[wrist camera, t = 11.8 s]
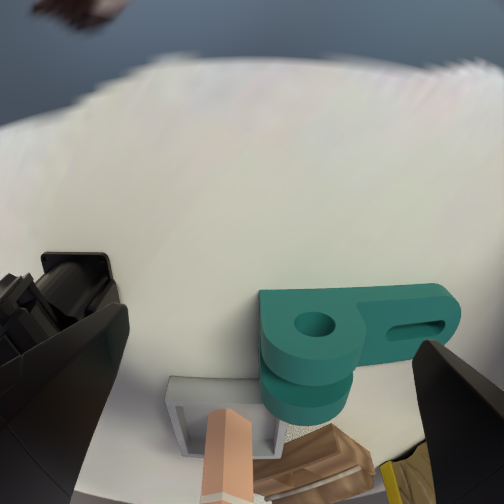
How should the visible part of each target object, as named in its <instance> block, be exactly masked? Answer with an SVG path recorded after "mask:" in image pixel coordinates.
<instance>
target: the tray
mask: <svg viewBox="0 0 504 504" xmlns="http://www.w3.org/2000/svg"><path fill="white" fill-rule="evenodd" d="M165 403H166V406H167V410H168V413H169V416H170V420H171V423H172V426H173V429H174V433H175V436H176V439H177V442H178V445H179V448H180V451H181V454H182V456H186V457H198V458H204V456H205V444H206V433H207V422H208V413H211V412H213V411H215V410H218V409H232V410H233V411H235V412H236V413H238V414H239V415H241V416H242V417H244V418H245V419H247V420H248V421H250V422H251V423H252V458H253V459H279V458H281V455H282V451H283V446H284V441H285V436H286V431H287V426H288V423H286V422H283V421H281V420H279V419H278V418H276V417H275V416H273V415H272V414H271V413H270V412H269V411H268V410H267V409H266V407H265V406H264V404H263V402H262V399H261V393H260V379H219V378H195V377H178V376H170V379H169V383H168V388H167V392H166V396H165Z"/></svg>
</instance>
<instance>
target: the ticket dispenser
mask: <svg viewBox="0 0 504 504" xmlns="http://www.w3.org/2000/svg"><path fill="white" fill-rule="evenodd" d="M375 474H376V473H375V469H374V466H373V462H372V459H371V455H370V452H369V451H368V450H366V449H365V448H363V447H362V446H361V445H359V444H358V443H357V442H355V441H354V440H353V439H351V438H350V437H349V436H347V435H346V434H345V433H344V432H342V431H341V430H340V429H338V428H337V427H336V426H334V425H333V424H332V423H331V424H329V425H327V426H325V427H323V428H320V429H318V430H316V431H314V432H312V433H309V434H307V435H305V436H302V437H300V438H298V439H295V440H293V441H290V442H288V443H285V444H284V446H283V451H282V455H281V458H279V459H253V492H254V493H256V494H259V495H262V496H265V498H264V500H265V501H266V502H267V501H271V500H272V504H332V503H335V502H338V501H341V500H344V499H347V498H350V497H352V496H355V495H358V494H360V493H363V492H365V491H368V490H370V489H372V488H373V487H374V479H373V475H375Z"/></svg>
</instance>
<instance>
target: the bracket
mask: <svg viewBox="0 0 504 504" xmlns="http://www.w3.org/2000/svg"><path fill="white" fill-rule="evenodd" d="M460 318H461V308H460V305H459V303H458V302H457V300H456V299H455V298H454V297H453V296H452V295H451V294H450V293H449V292H448V291H447V290H446V289H445V288H444V287H443V286H441V285H439V284H434V283H429V284H413V285H395V286H375V287H352V288H325V289H287V290H259V374H260V393H261V399H262V402H263V404H264V406H265V407H266V409H267V410H268V411H269V412H270V413H271V414H272V415H273V416H275V417H276V418H278V419H279V420H281V421H283V422H286V423H289V424H292V425H298V426H313V425H319V424H322V423H325V422H327V421H329V420H331V419H333V418H334V417H336V416H337V415H338V414H339V413H340V412H341V411H342V409H343V408H344V406H345V403H346V401H347V398H348V394H349V391H350V388H351V385H352V382H353V371H354V370H355V368H356V367H358V366H367V365H375V364H383V363H390V362H397V361H404V360H410V359H413V357H414V356H415V354H416V352H417V350H418V349H419V347H420V345H421V343H422V342H423V341H424V340H426V339H433V340H437V341H438V342H439V343H441V344H442V345H443V346H444V345H445V344H446V343H447V342H448V341H449V339H450V338H451V337H452V336H453V334H454V333H455V331H456V329H457V327H458V325H459V322H460ZM422 322H423V323H422Z"/></svg>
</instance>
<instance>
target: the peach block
mask: <svg viewBox="0 0 504 504" xmlns="http://www.w3.org/2000/svg"><path fill="white" fill-rule="evenodd" d="M200 504H254V498H253V458H252V423H251V422H250V421H248V420H247V419H245V418H244V417H242V416H241V415H239V414H238V413H236V412H235V411H233V410H232V409H218V410H215V411H213V412H211V413H208V422H207V433H206V444H205V456H204V467H203V480H202V492H201V496H200Z"/></svg>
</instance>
